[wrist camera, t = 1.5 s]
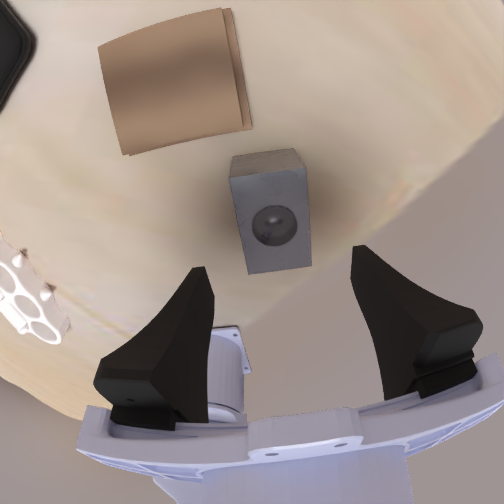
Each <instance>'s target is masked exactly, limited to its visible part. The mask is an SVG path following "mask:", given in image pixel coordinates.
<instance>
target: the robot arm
mask: <svg viewBox="0 0 504 504" xmlns="http://www.w3.org/2000/svg"><path fill="white" fill-rule="evenodd" d="M350 278H351V283H352V286H353V290H354V293H355V296H356V299H357V301H358V304H359V306H360V308H361V311H362V313H363V315H364V318H365V320H366V323H367V325H368V328H369V330H370V333H371V336H372V339H373V343H374V346H375V351H376V354H377V359H378V364H379V368H380V374H381V379H382V385H383V392H384V400H385V401H383V402H379V403H376V404H371V405H367V406H363V407H359V408H349V407H343V408H333V409H329V410H322V411H316V412H309V413H302V414H294V415H286V416H276V417H268V418H262V419H258V420H256V421H254V422H249V423H247V415H246V414H243V412H244V374H250V373H251V367H250V364H249V361H248V357H247V354H246V351H245V348H244V344H243V341H242V338H241V334H240V331H239V328H237V327H228V328H217V329H212V326H213V319H214V298H215V297H214V294H213V291H212V288H211V285H210V282H209V279H208V276H207V273H206V270H205V266H203V267H195V268H192V269H191V271H190V272H189V273H188V275H187V276H186V278H185V279H184V281H183V282H182V283H181V285H180V286H179V288H178V289H177V290H176V292H175V293H174V295H173V296H172V297H171V299H170V300H169V301H168V302H167V304H166V305H165V306H164V307H163V309H162V310H161V311H160V312H159V313H158V314H157V315H156V317H155V318H154V319H153V320H152V321H151V322H150V323H149V324H148V325H147V326H145V327H144V328H143V329H142V330H141V331H140V332H139V333H138V334H137V335H135V336H134V337H133V338H132V339H130V340H129V341H128V342H127V343H125V344H124V345H122V346H121V347H120V348H118V349H117V350H115V351H114V352H112V353H110V354H109V355H107V356H106V357H104V358H102V359H101V361H100V364H99V366H98V369H97V372H96V375H95V378H94V381H93V385H94V387H95V388H96V390H97V391H98V392H99V393H100V394H101V395H102V396H103V397H104V398H106V399H107V400H108V401H109V402H110V403H111V404H113V408H112V411H111V410H109V409H106V408H102V407H96V406H91V405H88V406H87V408H86V411H85V415H84V418H83V422H82V426H81V430H80V434H79V438H78V442H77V446H76V449H77V451H79V452H81V453H83V454H85V455H87V456H89V457H91V458H93V459H95V460H97V461H99V462H101V463H103V464H105V465H108V466H112V467H116V468H120V469H124V470H128V471H132V472H137V473H141V474H145V475H150V476H152V477H153V481H154V482H155V483H156V484H157V485H158V486H159V487H160V488H161V489H163V490H164V491H165V492H166V493H167V494H169V495H170V496H171V497H172V498H173V499H174V500H175V501H176V504H414V498H413V493H412V487H411V482H410V476H409V472H408V467H407V462H406V457H408V456H411V455H413V454H415V453H418V452H421V451H423V450H425V449H428V448H430V447H432V446H434V445H436V444H439V443H441V442H443V441H445V440H447V439H449V438H451V437H453V436H455V435H457V434H458V433H461V432H463V431H464V430H466V429H468V428H470V427H472V426H474V425H475V424H477V423H479V422H481V421H483V420H484V419H486V418H488V417H489V416H490V415H491V414H493V413H494V412H495V411H496V410H497V409H499V408H500V407H501V406H502V405H503V404H504V369H503V366H502V364H501V362H500V360H499V358H498V356H497V354H496V353H493V354H491V355H488V356H487V357H484V358H482V359H480V360H479V361H477V362H476V363H475V364H474V362H473V360H472V358H473V357H474V353H473V351H472V348H473V347H474V345H475V344H476V342H477V341H478V339H479V337H480V335H481V333H482V330H483V324H482V322H481V320H480V319H479V317H478V315H477V314H476V312H475V311H474V310H473V309H470V308H467V307H464V306H461V305H457V304H455V303H452V302H450V301H447V300H445V299H443V298H441V297H438V296H436V295H434V294H433V293H430V292H429V291H427V290H425V289H423V288H421V287H420V286H418V285H417V284H415V283H413V282H412V281H410V280H409V279H407V278H406V277H404V276H403V275H402V274H400V273H399V272H398V271H396V270H395V269H394V268H392V267H391V266H390V265H389V264H387V263H386V262H385V261H383V260H382V259H381V258H380V257H379V256H378V255H376V254H375V253H374V252H373V251H372V250H370V249H369V248H368V247H367V246H365V245H359V246H353V251H352V265H351V277H350Z"/></svg>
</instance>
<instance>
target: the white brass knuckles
mask: <svg viewBox="0 0 504 504" xmlns="http://www.w3.org/2000/svg"><path fill="white" fill-rule="evenodd" d="M0 311H1V313H2V314H3V315H4V316H5V317H6V318H7V319H8V320H9V321H10V323H11V324H12V325H13V326H14V327H15V328H16V329H17V331H18V332H19V333H20V334H25V333H27V332H29V333H32V334H34V335H36V336H37V337H38V338H40V339H41V340H43V341H45V342H47V343H50V344H59V343H60V342H61V341H62V339H63V337H64V335H65V333H66V331H67V329H68V327H69V325H70V321H69V318H68V316H67V314H65V313H64V312H63V311H62V310H61V309H60V308H59V307H58V305H57V304H56V302H55V300H54V296H53V293H52V291H51V290H50V288H49V286H48V285H47V283H46V281H44V280H43V279H42V278H40V277H39V276H38V275H37V274H36V272H35V271H34V270H33V268H32V266H31V264H30V262H29V260H28V259H27V258H26V257H25V256H24V255H23V254H22V253H21V252H20V251H19V250H18V249H16V248H14V247H12V246H11V245H10V244H9V243H8V242H7V241H6V240H5V238H4V237H3V235H2V233H1V231H0Z"/></svg>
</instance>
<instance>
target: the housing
mask: <svg viewBox="0 0 504 504" xmlns="http://www.w3.org/2000/svg"><path fill="white" fill-rule="evenodd" d="M229 182H230V187H231V192H232V197H233V202H234V206H235V211H236V216H237V221H238V226H239V231H240V236H241V241H242V245H243V250H244V255H245V260H246V265H247V269H248V274H249V275H250V274H257V273H265V272H272V271H280V270H287V269H294V268H301V267H308V266H312V258H311V235H310V217H309V202H308V188H307V175H306V167H305V166H304V164H303V163H302V161H301V160H300V158H299V157H298V155H297V154H296V152H295V151H294V149H293V148H291V149H283V150H275V151H267V152H260V153H253V154H247V155H240V156H234V157H233V159H232V164H231V169H230V175H229Z"/></svg>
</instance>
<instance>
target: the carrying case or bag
mask: <svg viewBox="0 0 504 504" xmlns="http://www.w3.org/2000/svg"><path fill="white" fill-rule="evenodd" d="M31 50H32V40H31V36H30V34H29V33H28V31H27V30H26V29H25V27H24V26H23V25H22V24H21V23H20V21H19V20H18V19H17V18H16V16H15V15H14V14H13V13H12V11H11V10H10V9H9V8H8V6H7V5H6V4H5V3H4V1H3V0H0V106H1V104H2V102H3V100H4V98H5V96H6V94H7V92H8V90H9V88H10V87H11V85H12V83H13V81H14V80H15V78H16V76H17V75H18V73H19V71H20V70H21V68H22V67H23V65H24V64H25V62H26V60H27V59H28V57H29V55H30V53H31Z"/></svg>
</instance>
